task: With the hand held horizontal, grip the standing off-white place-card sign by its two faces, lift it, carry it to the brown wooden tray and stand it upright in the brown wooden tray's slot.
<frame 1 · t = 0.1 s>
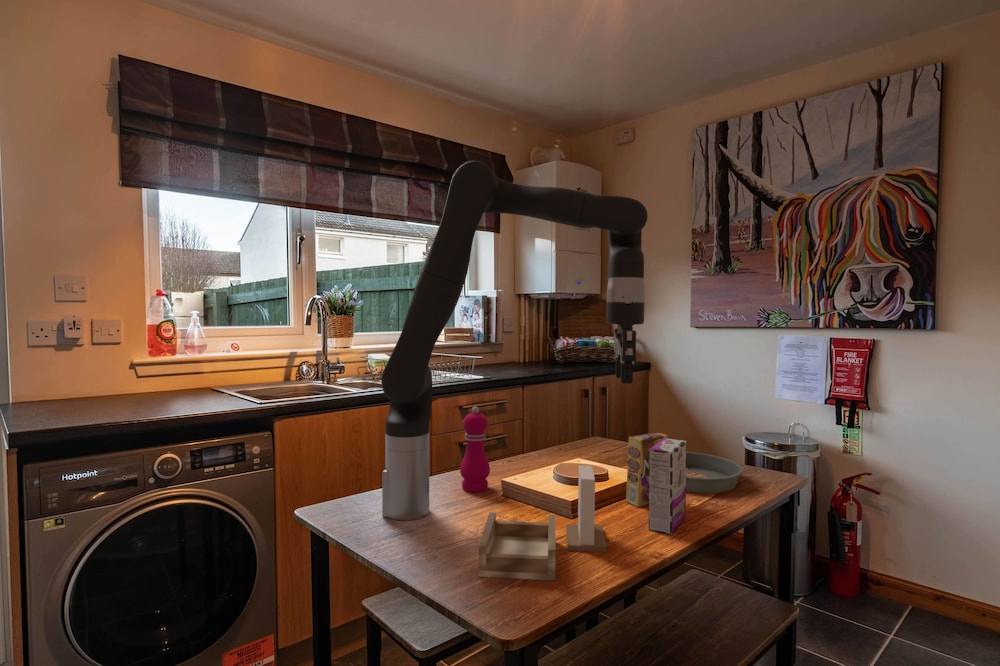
hand: (623, 380, 114), 29 cm above the table, tool pointing down, fingers open, 8 cm apart
place card sign: (585, 540, 106), on the table
brown wooden tray: (519, 557, 98), on the table
candy box: (646, 502, 128), on the table
cake pan: (691, 481, 145), on the table
candy bar box: (666, 524, 115), on the table
pepper mill: (474, 489, 136), on the table
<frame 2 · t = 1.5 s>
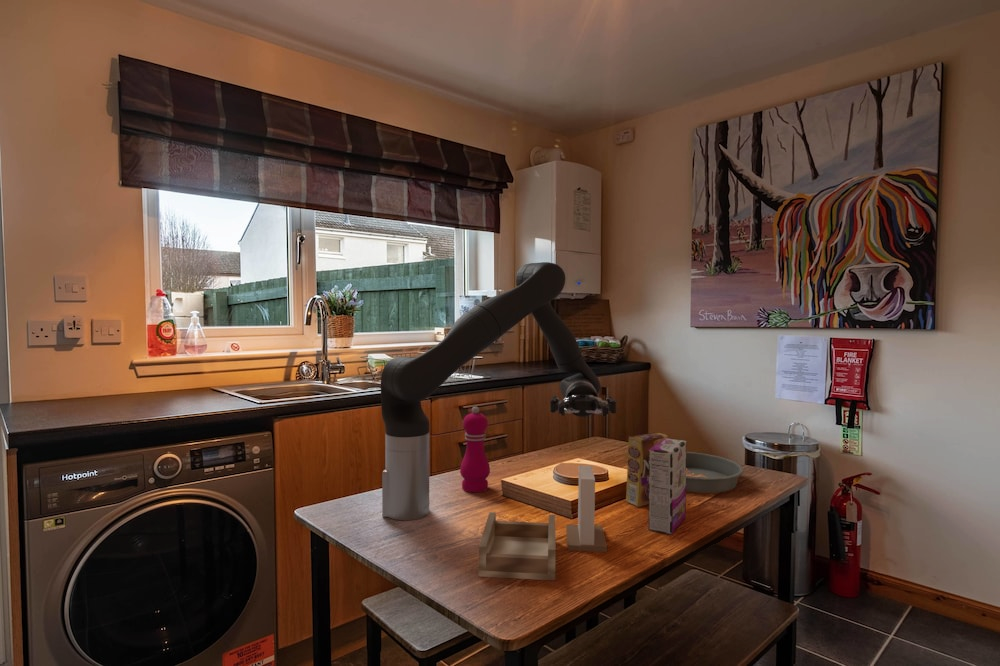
hand: (583, 411, 117), 22 cm above the table, tool horizontal, fingers open, 8 cm apart
nothing on the table moved.
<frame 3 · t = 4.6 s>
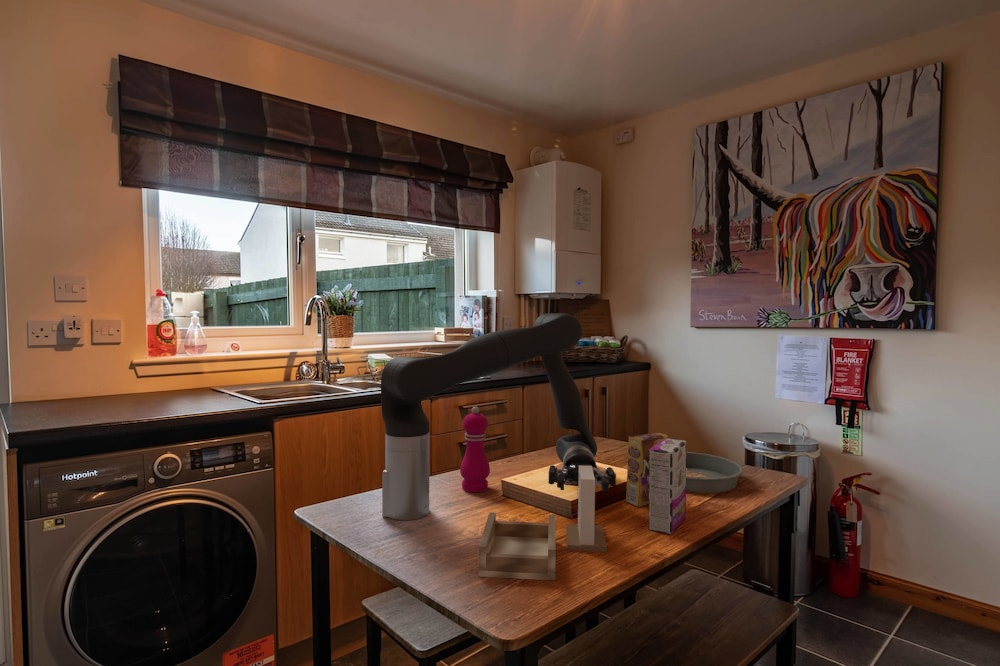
hand: (583, 486, 115), 7 cm above the table, tool horizontal, fingers open, 8 cm apart
nothing on the table moved.
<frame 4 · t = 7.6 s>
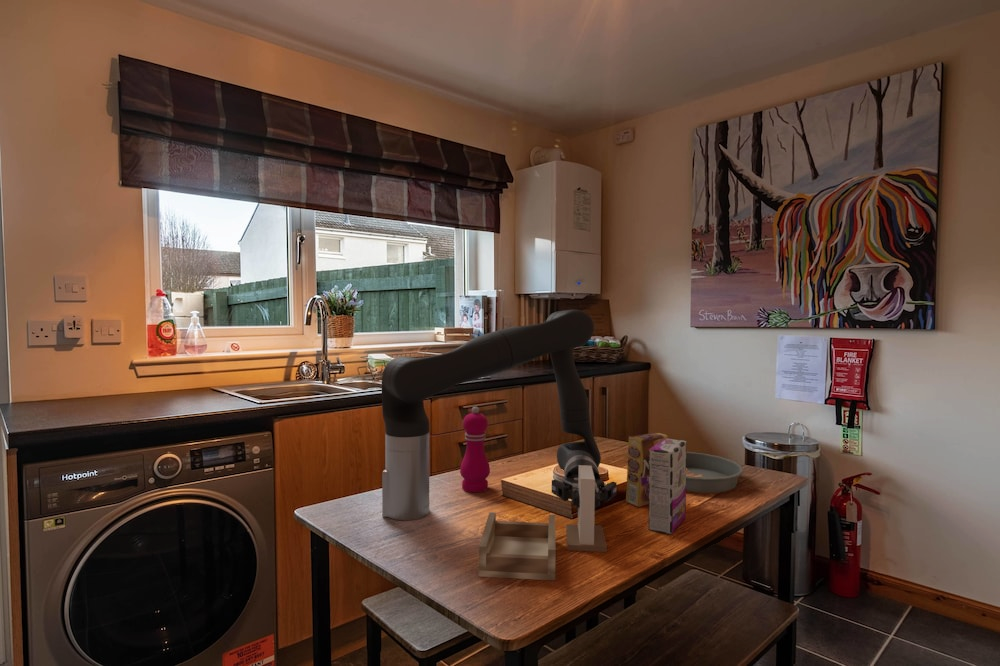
hand: (586, 503, 104), 8 cm above the table, tool horizontal, fingers closed on place card sign, 2 cm apart
place card sign: (585, 539, 106), on the table, touching gripper
everything else where it was.
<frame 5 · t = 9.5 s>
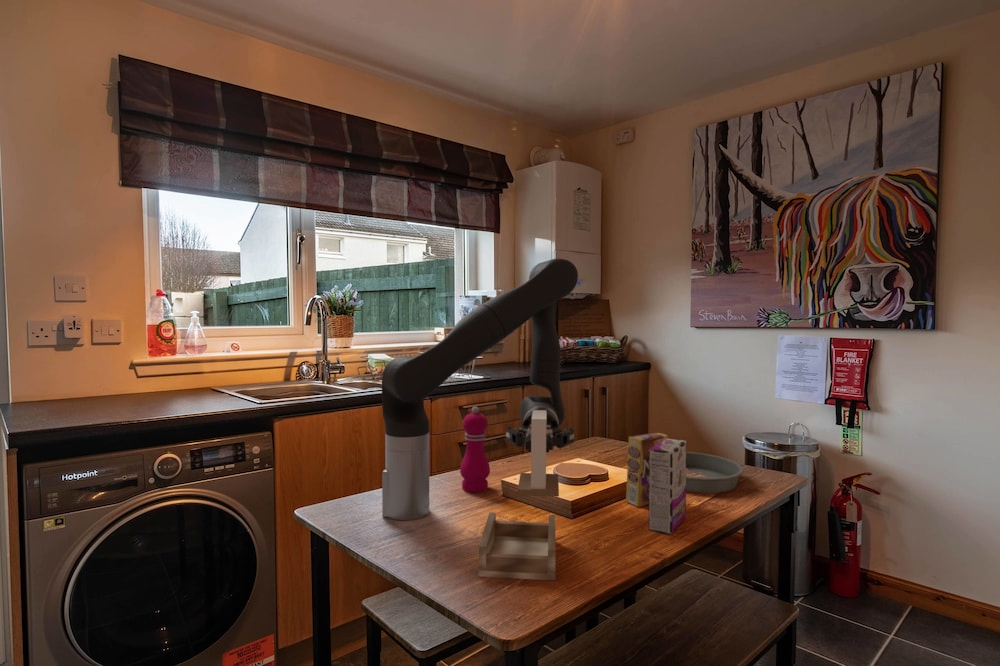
hand: (538, 446, 99), 19 cm above the table, tool horizontal, fingers closed on place card sign, 2 cm apart
place card sign: (538, 486, 100), point 12 cm above the table, touching gripper
everything else where it was.
when the fingers open (11 cm above the table, at t = 11.8 s): place card sign drops 1 cm, resting on brown wooden tray.
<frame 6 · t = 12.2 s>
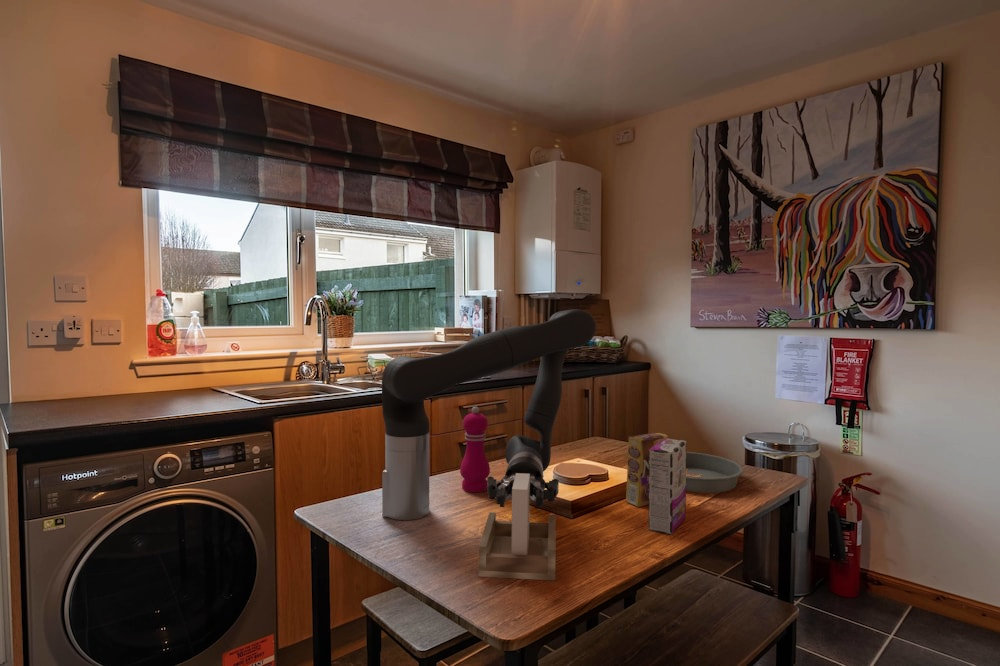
hand: (519, 502, 97), 10 cm above the table, tool horizontal, fingers open, 5 cm apart
place card sign: (520, 555, 97), point 1 cm above the table, touching brown wooden tray
everything else where it was.
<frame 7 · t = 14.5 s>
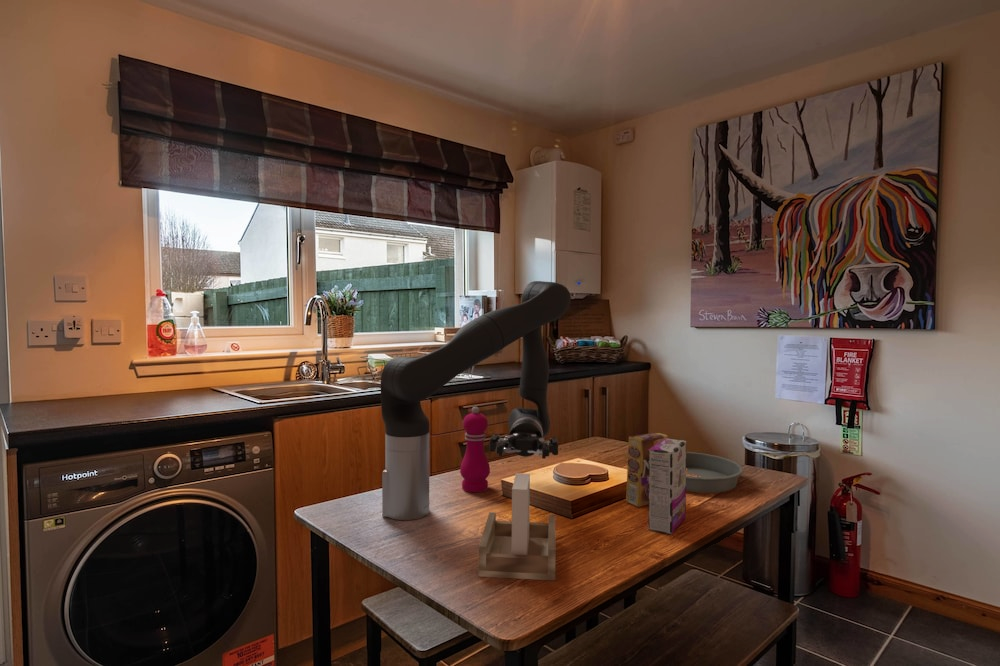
hand: (522, 452, 110), 15 cm above the table, tool horizontal, fingers open, 8 cm apart
nothing on the table moved.
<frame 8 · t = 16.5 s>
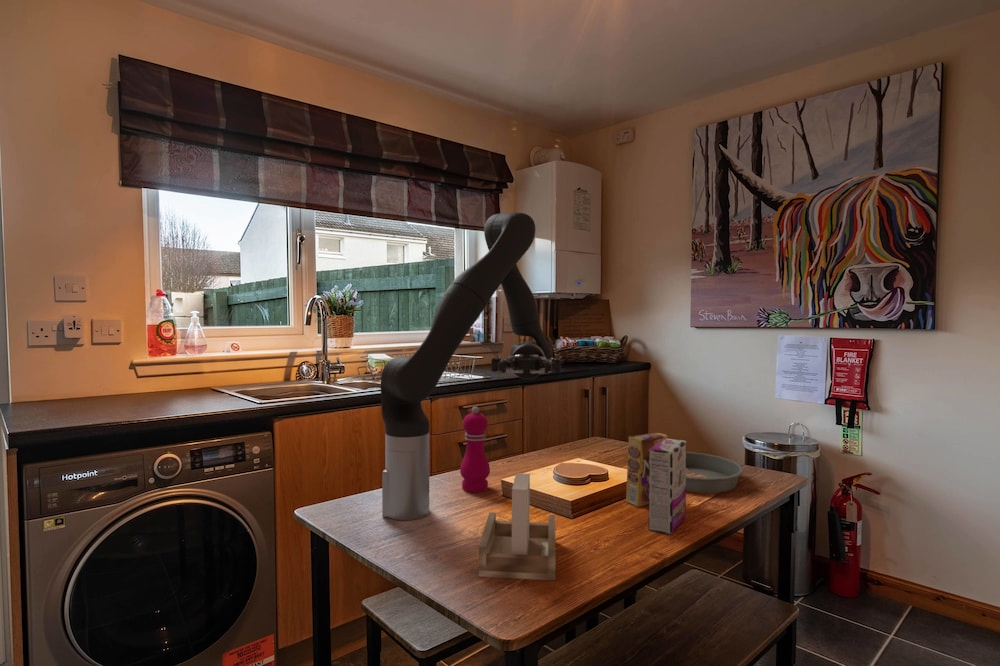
hand: (524, 367, 110), 32 cm above the table, tool horizontal, fingers open, 8 cm apart
nothing on the table moved.
at the end: place card sign inside the target area on the brown wooden tray (1.4 cm from its centre), point 1.0 cm above the brown wooden tray's base; place card sign tilted 0°; the gripper is holding nothing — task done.
